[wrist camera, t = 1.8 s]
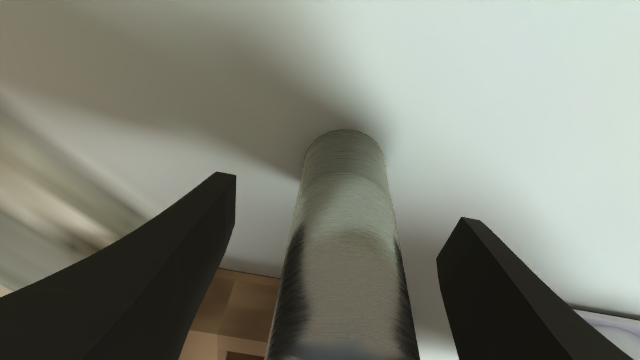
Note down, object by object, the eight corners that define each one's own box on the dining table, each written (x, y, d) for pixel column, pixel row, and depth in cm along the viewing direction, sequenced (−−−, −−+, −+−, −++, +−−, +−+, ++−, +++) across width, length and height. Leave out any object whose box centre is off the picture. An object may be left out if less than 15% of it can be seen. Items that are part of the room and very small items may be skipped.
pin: (395, 138, 12) (451, 357, 6) (371, 202, 14) (393, 421, 7) (311, 122, 12) (269, 327, 5) (300, 189, 14) (257, 401, 7)
